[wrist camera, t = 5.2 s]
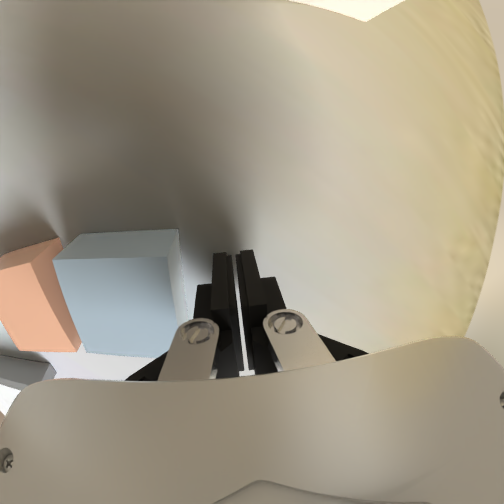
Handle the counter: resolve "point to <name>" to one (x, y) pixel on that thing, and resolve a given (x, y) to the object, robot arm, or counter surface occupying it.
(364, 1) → the jar
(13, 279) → the tile
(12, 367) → the tray
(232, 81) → the counter surface
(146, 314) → the tile
